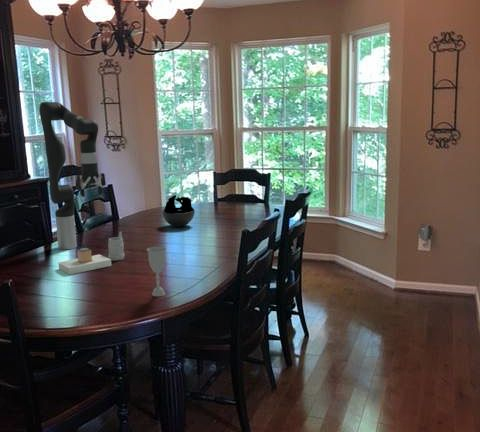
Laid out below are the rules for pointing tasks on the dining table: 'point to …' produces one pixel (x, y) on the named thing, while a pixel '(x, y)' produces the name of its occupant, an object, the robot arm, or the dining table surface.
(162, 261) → the chalice
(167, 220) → the coal bowl
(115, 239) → the mug
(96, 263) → the socket plate
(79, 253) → the plug
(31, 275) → the dining table surface
